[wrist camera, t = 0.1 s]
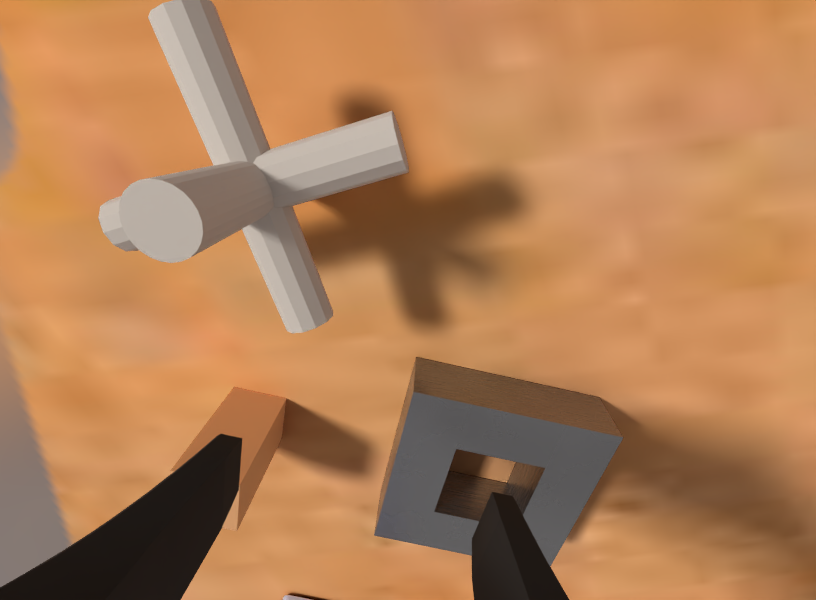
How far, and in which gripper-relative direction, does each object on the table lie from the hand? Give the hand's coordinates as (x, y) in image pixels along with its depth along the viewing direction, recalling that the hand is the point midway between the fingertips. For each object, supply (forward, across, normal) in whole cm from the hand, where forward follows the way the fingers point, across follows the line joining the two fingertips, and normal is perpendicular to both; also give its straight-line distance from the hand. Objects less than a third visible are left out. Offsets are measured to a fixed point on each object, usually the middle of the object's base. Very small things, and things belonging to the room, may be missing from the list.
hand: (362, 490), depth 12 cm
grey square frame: (+10, -6, +6) cm, 14 cm away
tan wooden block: (+10, +6, +7) cm, 14 cm away
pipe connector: (+10, +6, -7) cm, 13 cm away
